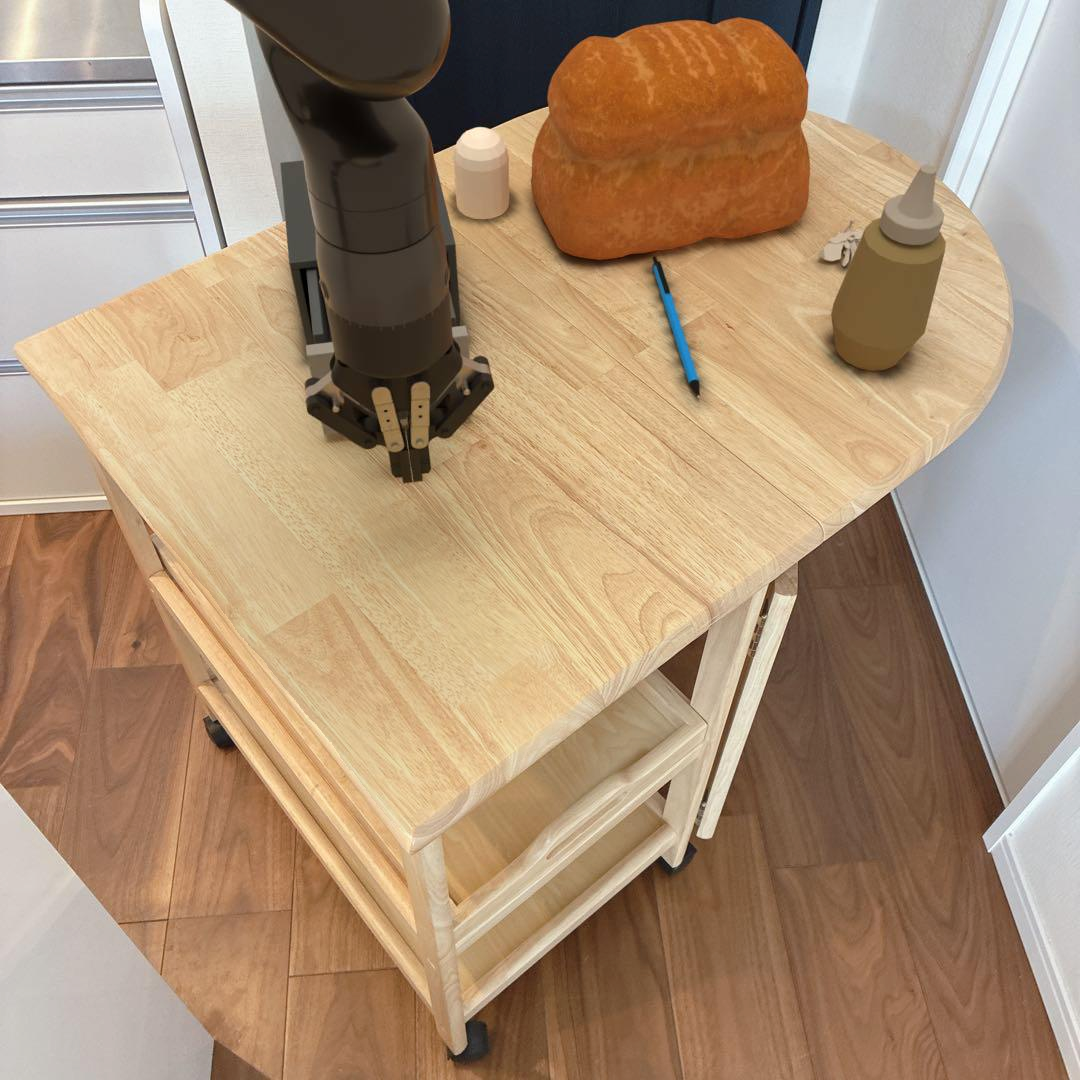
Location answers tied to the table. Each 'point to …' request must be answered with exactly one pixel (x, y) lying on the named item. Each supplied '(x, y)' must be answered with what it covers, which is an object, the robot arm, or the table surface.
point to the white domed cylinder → (481, 174)
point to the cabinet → (304, 239)
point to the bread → (672, 139)
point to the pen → (676, 327)
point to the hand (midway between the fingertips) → (411, 473)
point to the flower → (836, 245)
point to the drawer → (324, 348)
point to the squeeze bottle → (891, 279)
